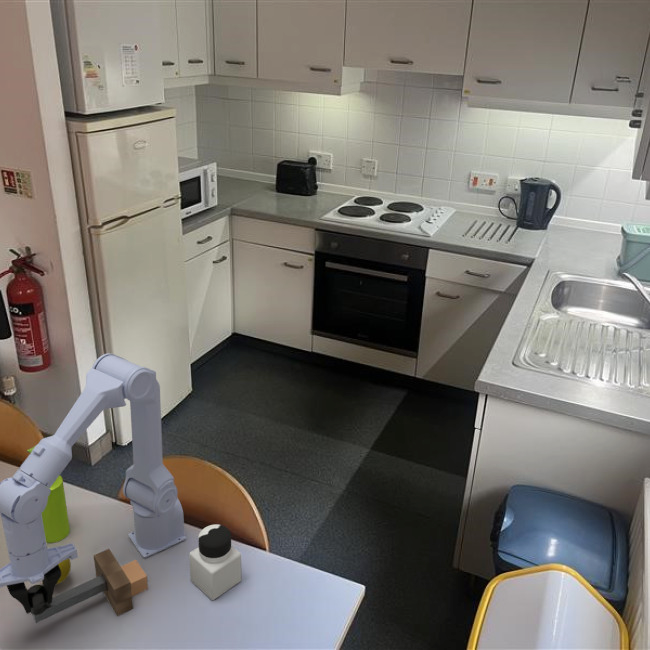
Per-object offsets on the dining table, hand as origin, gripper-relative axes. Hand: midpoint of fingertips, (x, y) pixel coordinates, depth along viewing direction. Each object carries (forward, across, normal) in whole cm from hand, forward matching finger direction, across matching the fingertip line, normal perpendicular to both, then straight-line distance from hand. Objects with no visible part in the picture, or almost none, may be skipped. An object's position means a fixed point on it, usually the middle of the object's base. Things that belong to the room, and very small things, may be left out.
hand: (37, 604), depth 109 cm
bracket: (+6, +13, 0) cm, 14 cm away
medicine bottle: (+6, +30, -8) cm, 32 cm away
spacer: (+6, +17, 0) cm, 18 cm away
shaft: (+3, +6, 0) cm, 7 cm away
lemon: (+6, +5, +9) cm, 12 cm away
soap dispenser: (+6, +9, +23) cm, 25 cm away
